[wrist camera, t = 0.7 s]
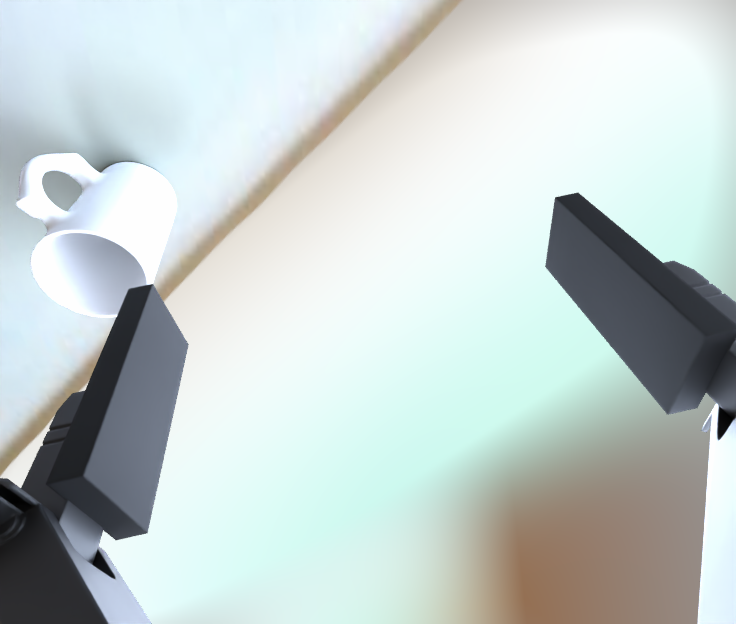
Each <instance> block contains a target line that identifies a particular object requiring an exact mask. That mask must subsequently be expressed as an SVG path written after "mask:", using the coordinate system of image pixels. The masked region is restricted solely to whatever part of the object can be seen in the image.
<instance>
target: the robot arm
mask: <svg viewBox="0 0 736 624" xmlns="http://www.w3.org/2000/svg"><path fill="white" fill-rule="evenodd" d="M545 267H546V268H547V269H548V270H549V272H550V273H551V274H552V275H553V277H554V278H555V279H556V280H557V281H558V283H559V284H560V285H561V286H562V288H563V289H564V290H565V291H566V292H567V294H568V295H569V296H570V297H571V298H572V300H573V301H574V302H575V303H576V304H577V306H578V307H579V308H580V309H581V310H582V312H583V313H584V314H585V315H586V316H587V318H588V319H589V320H590V321H591V323H592V324H593V325H594V326H595V327H596V329H597V330H598V331H599V332H600V333H601V335H602V336H603V337H604V338H605V339H606V341H607V342H608V343H609V344H610V346H611V347H612V348H613V349H614V350H615V351H616V353H617V354H618V355H619V356H620V358H621V359H622V360H623V361H624V362H625V364H626V365H627V366H628V367H629V368H630V370H632V372H633V373H634V375H635V376H636V377H637V378H638V379H639V381H640V382H641V383H642V384H643V385H644V387H646V389H647V390H648V391H649V393H650V394H651V395H652V396H653V397H654V399H655V400H656V401H657V402H658V403H659V405H660V406H661V407H662V408H663V410H664V411H665V412H666V413H667V414H673V413H677V412H682V411H686V410H690V409H695V408H697V407H698V406H699V404H700V402H701V400H702V398H703V397H704V395H705V393H707V394H708V395H709V396H710V397H711V398H712V399H713V400H714V401H715V402H716V405H715V407H714V408H713V410H712V412H711V413H710V415H709V417H708V418H707V420H706V422H705V424H704V426H703V428H702V431H704V432H707V431H708V429H709V428H710V426H711V435H710V451H709V465H708V466H709V467H708V480H707V495H706V509H705V524H704V539H703V554H702V568H701V583H700V598H699V612H698V624H736V302H735V301H733V300H732V299H731V298H730V297H728V296H727V295H726V294H722V293H721V290H719V289H718V288H717V287H716V286H714V285H713V284H709V281H708V280H706V279H705V278H704V277H703V276H702V275H700V274H699V273H697V272H696V271H695V270H694V269H691V268H689V267H687V266H684V265H682V264H680V263H678V262H675V261H670V262H665V263H662V262H661V261H660V260H659V259H657V258H656V257H655V256H654V255H653V254H651V253H650V252H649V251H648V250H646V249H645V248H644V247H643V246H642V245H640V244H639V243H638V242H637V241H636V240H634V239H633V238H632V237H631V236H629V235H628V234H627V233H626V232H625V231H624V230H622V229H621V228H620V227H619V226H617V225H616V224H615V223H614V222H613V221H611V220H610V219H609V218H608V217H607V216H605V215H604V214H603V213H602V212H601V211H600V210H598V209H597V208H596V207H595V206H593V205H592V204H591V203H590V202H589V201H588V200H586V199H585V198H584V197H583V196H581V195H580V194H579V193H574V194H569V195H565V196H560V197H556V198H555V202H554V209H553V216H552V224H551V230H550V238H549V245H548V252H547V259H546V266H545ZM187 349H188V343H187V341H186V340H185V338H184V337H183V334H182V333H181V331H180V329H179V328H178V326H177V324H176V323H175V321H174V319H173V317H172V316H171V314H170V312H169V311H168V309H167V307H166V306H165V304H164V302H163V300H162V299H161V297H160V295H159V294H158V292H157V290H156V288H155V287H154V285H153V284H149V285H144V286H139V287H135V288H130V289H128V291H127V294H126V296H125V298H124V301H123V303H122V305H121V308H120V310H119V312H118V315H117V317H116V320H115V322H114V324H113V327H112V329H111V331H110V334H109V336H108V338H107V341H106V343H105V345H104V348H103V350H102V352H101V355H100V357H99V359H98V362H97V364H96V366H95V369H94V371H93V374H92V376H91V378H90V381H89V383H88V385H87V388H86V390H85V391H82V392H77V393H73V394H71V396H70V397H69V398H68V399H67V400H66V401H65V402H64V404H63V405H62V406H61V407H60V408H59V409H58V411H57V413H56V415H55V417H54V419H53V421H52V423H51V425H50V428H49V429H50V431H49V432H47V434H46V436H45V438H44V441H43V446H41V447H40V449H39V451H38V453H37V456H36V458H35V460H34V462H33V464H32V466H31V469H30V470H29V473H28V475H27V477H26V479H25V481H24V483H23V485H22V488H19V487H18V486H17V485H15V484H14V483H13V482H11V481H10V480H9V479H3V478H0V624H152V623H151V622H150V620H149V619H148V618H147V616H146V614H145V613H144V611H143V609H142V608H141V606H140V605H139V603H138V602H137V600H136V599H135V597H134V596H133V594H132V592H131V591H130V589H129V588H128V586H127V585H126V583H125V582H124V580H123V578H122V577H121V575H120V574H119V572H118V571H117V569H116V568H115V566H114V564H113V563H112V561H111V560H110V558H109V557H108V555H107V554H106V552H105V551H104V550H103V549H102V548H100V547H99V543H100V539H101V536H102V532H103V530H104V531H105V532H107V533H108V534H109V535H110V536H111V537H113V538H114V539H115V540H119V539H123V538H128V537H132V536H136V535H141V534H146V533H147V532H148V528H149V523H150V519H151V514H152V509H153V505H154V500H155V496H156V491H157V487H158V482H159V477H160V472H161V468H162V463H163V459H164V454H165V450H166V445H167V441H168V436H169V432H170V426H171V422H172V418H173V413H174V408H175V404H176V399H177V395H178V390H179V386H180V381H181V377H182V372H183V367H184V363H185V358H186V354H187Z"/></svg>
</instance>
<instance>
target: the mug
mask: <svg viewBox="0 0 736 624" xmlns="http://www.w3.org/2000/svg"><path fill="white" fill-rule="evenodd" d="M52 170H56V171H61V172H64V173H66V174H68V175H70V176H71V177H72V178H73V179H75V180H76V181H77V182H78V183H79V184H80V186H81V187H82V190H83V191H82V194H81V196H80V197H79V198H78V199H77V200H76V202H75V203H74V204H73V205H72V206H71V207H70V208H69V209H68V211H64V210H62V209H60V208H58V207H57V206H56V205H55V204H53V203H52V202H51V201H50V200H49V198H48V197H47V196H46V194H45V192H44V190H43V186H42V177H43V175H44V173H46V172H48V171H52ZM15 204H16V206H17V207H19V208H20V209H22V210H23V211H24V212H26V213H27V214H28V215H30V216H31V217H35V218H39V219H40V220H41V221H42V222H43V223H44V224H45V225H46V227H47V233H46V235H45V237H44V238H42V239H41V240H40V241H39V242H38V243H37V244H36V246H35V247H34V249H33V251H32V254H31V261H30V263H31V270H32V274H33V276H34V278H35V280H36V282H37V284H38V285H39V286H40V288H41V289H42V290H43V291H44V292H45V293H46V294H47V295H48V296H49V297H50V298H51V299H53V300H54V301H55V302H57V303H58V304H60V305H62V306H63V307H65V308H67V309H69V310H72V311H74V312H77V313H80V314H83V315H87V316H93V317H103V318H108V317H117V315H118V312H119V310H120V308H121V305H122V303H123V301H124V298H125V296H126V294H127V291H128V289H130V288H135V287H139V286H144V285H149V284H152V283H153V280H154V277H155V274H156V271H157V268H158V265H159V262H160V259H161V256H162V253H163V250H164V247H165V244H166V241H167V238H168V235H169V232H170V229H171V227H172V223H173V220H174V217H175V213H176V208H177V201H176V196H175V193H174V190H173V188H172V187H171V185H170V184H169V182H168V181H167V180H166V179H165V178H164V177H163V176H162V175H161V174H160V173H158V172H157V171H156V170H154V169H152V168H150V167H148V166H146V165H143V164H140V163H135V162H120V163H116V164H113V165H111V166H109V167H107V168H106V169H104V170H103V171H102V172H101V173H99V172H98V171H96V170H95V169H94V168H93V167H91V166H90V165H89V164H88V163H87V162H86V161H85V160H84V159H83V158H82V157H81V156H80V155H79V154H76V153H59V154H43V155H39V156H36V157H34V158H32V159H30V160H29V161H28V162H27V163H26V164H25V165H24V166H23V168H22V170H21V173H20V178H19V197H18V199H17V201H16V203H15Z"/></svg>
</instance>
